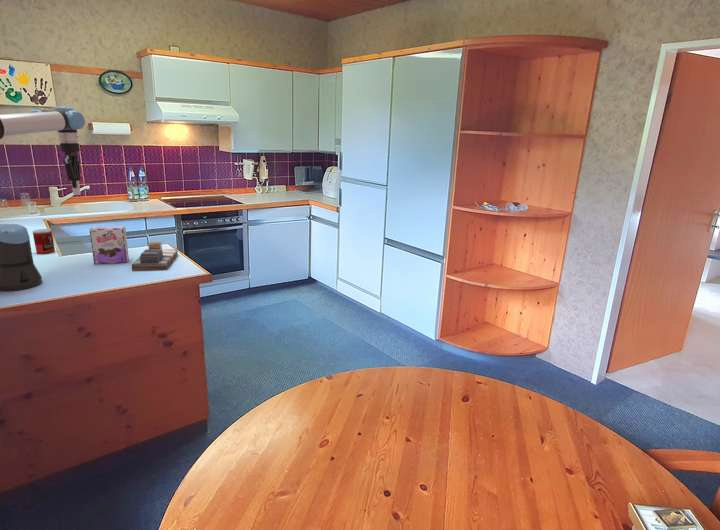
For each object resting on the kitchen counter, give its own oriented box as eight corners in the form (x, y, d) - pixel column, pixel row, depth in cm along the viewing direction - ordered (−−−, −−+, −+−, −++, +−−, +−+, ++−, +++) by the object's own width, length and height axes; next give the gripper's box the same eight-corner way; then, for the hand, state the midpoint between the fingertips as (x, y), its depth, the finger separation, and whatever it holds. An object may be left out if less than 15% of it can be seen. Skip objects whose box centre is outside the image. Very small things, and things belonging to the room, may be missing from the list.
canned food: (46, 254, 221) (42, 232, 218) (32, 253, 222) (28, 231, 219) (59, 251, 228) (55, 229, 225) (45, 250, 229) (41, 228, 226)
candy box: (93, 264, 206) (88, 229, 202) (97, 261, 212) (92, 226, 207) (127, 263, 210) (122, 228, 206) (129, 259, 215) (125, 225, 211)
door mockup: (166, 270, 201) (164, 255, 199) (132, 271, 198) (130, 255, 196) (177, 255, 225) (176, 241, 223) (147, 255, 223) (146, 242, 221)
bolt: (157, 259, 204) (156, 246, 203) (145, 259, 204) (144, 246, 202) (162, 254, 214) (161, 241, 212) (151, 254, 213) (150, 241, 211)
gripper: (72, 143, 201) (80, 196, 208) (83, 142, 214) (90, 193, 220) (53, 142, 200) (62, 196, 206) (66, 142, 212) (73, 193, 219)
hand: (77, 194), depth 213 cm, fingers closed
